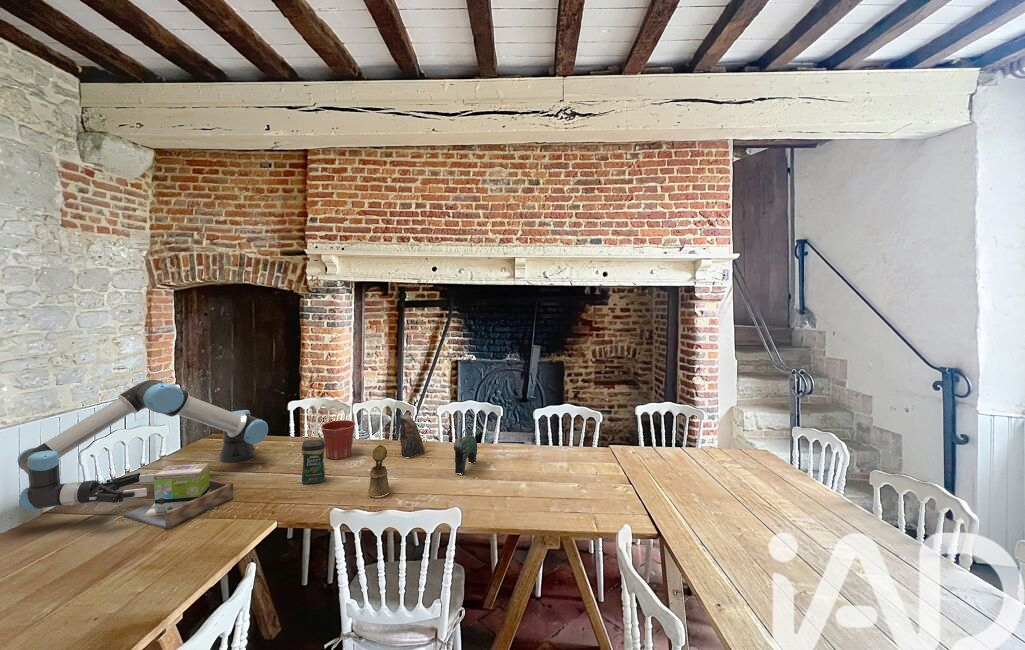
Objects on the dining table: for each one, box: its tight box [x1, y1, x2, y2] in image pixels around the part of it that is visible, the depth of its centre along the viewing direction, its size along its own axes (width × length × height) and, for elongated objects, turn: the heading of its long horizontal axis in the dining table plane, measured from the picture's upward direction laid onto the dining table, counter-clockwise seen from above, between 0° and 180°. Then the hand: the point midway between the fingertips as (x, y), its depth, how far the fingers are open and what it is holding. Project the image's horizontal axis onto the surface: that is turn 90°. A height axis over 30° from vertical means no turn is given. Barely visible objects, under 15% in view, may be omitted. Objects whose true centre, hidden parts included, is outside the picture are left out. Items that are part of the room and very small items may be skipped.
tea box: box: [153, 462, 211, 513], centre depth 171 cm, size 15×10×15 cm
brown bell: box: [367, 444, 391, 497], centre depth 188 cm, size 9×14×18 cm, turn 13°
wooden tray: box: [123, 478, 234, 530], centre depth 172 cm, size 25×24×6 cm
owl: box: [398, 412, 425, 458], centre depth 231 cm, size 13×13×20 cm
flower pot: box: [320, 419, 356, 460], centre depth 226 cm, size 16×16×16 cm
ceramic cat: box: [453, 428, 478, 474], centre depth 213 cm, size 20×6×20 cm, turn 161°
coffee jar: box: [301, 438, 326, 485], centre depth 196 cm, size 10×8×19 cm
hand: (153, 484), depth 167 cm, fingers open, 13 cm apart
